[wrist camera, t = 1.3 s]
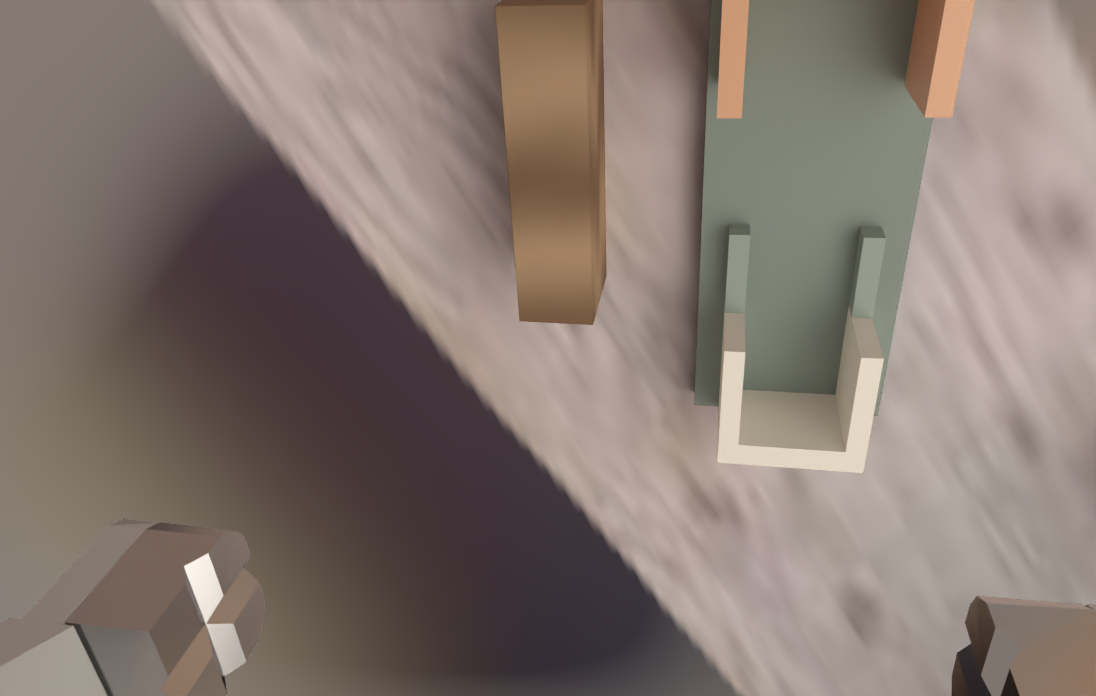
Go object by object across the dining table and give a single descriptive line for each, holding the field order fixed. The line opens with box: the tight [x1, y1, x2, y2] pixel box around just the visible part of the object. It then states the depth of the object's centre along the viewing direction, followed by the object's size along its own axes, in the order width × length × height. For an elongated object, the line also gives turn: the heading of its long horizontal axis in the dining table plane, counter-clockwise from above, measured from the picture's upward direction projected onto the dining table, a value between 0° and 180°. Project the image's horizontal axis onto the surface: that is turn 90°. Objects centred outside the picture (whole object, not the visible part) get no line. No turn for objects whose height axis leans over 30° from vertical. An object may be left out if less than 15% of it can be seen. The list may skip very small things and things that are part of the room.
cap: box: [717, 0, 975, 118], centre depth 27 cm, size 6×7×4 cm
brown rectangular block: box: [495, 0, 606, 325], centre depth 32 cm, size 12×3×4 cm, turn 3°
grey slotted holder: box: [694, 0, 933, 473], centre depth 31 cm, size 20×8×5 cm, turn 3°
